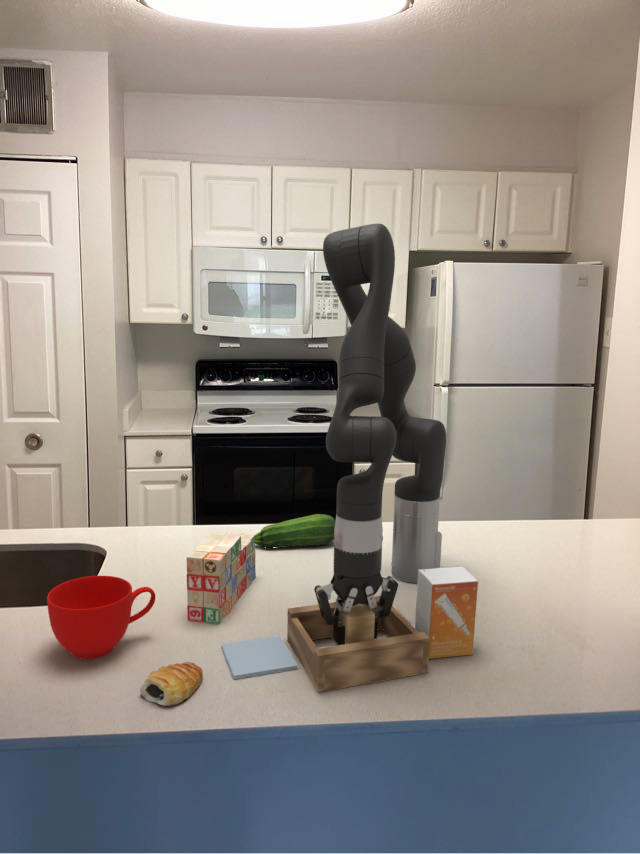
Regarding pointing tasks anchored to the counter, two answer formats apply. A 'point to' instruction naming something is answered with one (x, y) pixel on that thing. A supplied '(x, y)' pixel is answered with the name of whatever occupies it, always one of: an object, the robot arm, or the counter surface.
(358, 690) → the counter surface
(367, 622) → the block
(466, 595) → the small box
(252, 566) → the stack of blocks
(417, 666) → the crate
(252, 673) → the pad
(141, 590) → the ceramic cup
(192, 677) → the pastry
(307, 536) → the vegetable
